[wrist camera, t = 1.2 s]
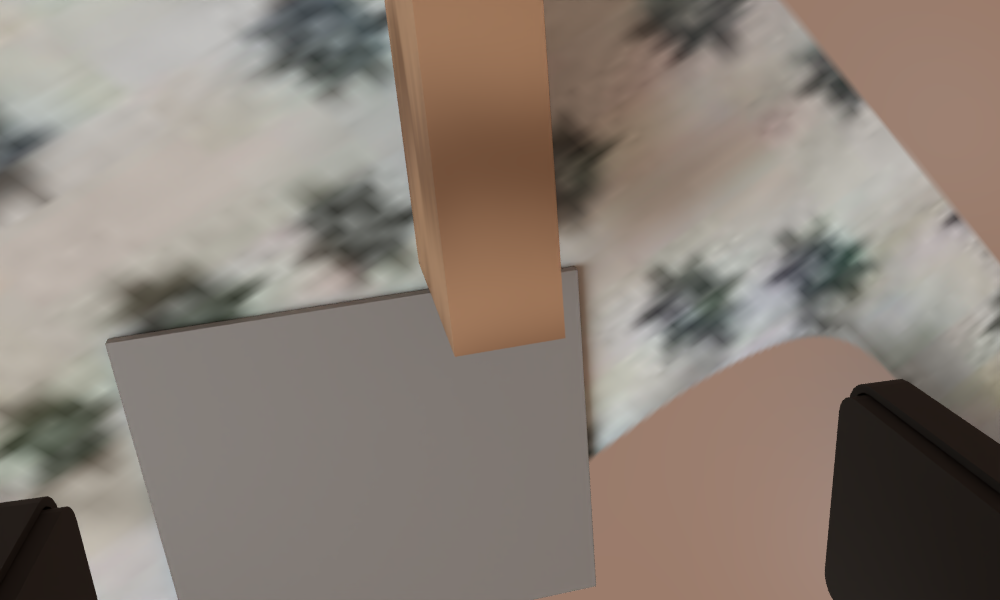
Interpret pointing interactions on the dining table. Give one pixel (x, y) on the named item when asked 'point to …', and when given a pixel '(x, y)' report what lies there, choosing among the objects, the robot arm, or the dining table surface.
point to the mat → (362, 455)
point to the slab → (480, 166)
